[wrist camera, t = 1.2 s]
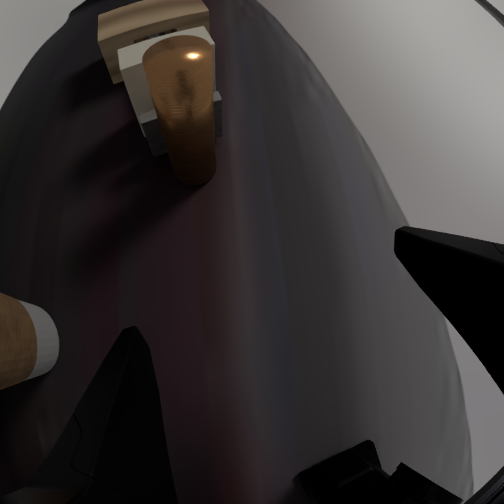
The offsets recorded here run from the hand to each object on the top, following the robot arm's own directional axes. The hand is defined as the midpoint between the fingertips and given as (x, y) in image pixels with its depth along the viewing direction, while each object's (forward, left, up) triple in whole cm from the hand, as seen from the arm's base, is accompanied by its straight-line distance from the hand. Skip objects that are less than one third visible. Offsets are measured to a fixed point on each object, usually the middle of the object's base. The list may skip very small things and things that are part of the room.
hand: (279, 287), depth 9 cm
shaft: (+22, 0, -12) cm, 25 cm away
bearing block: (+30, 0, -12) cm, 32 cm away
